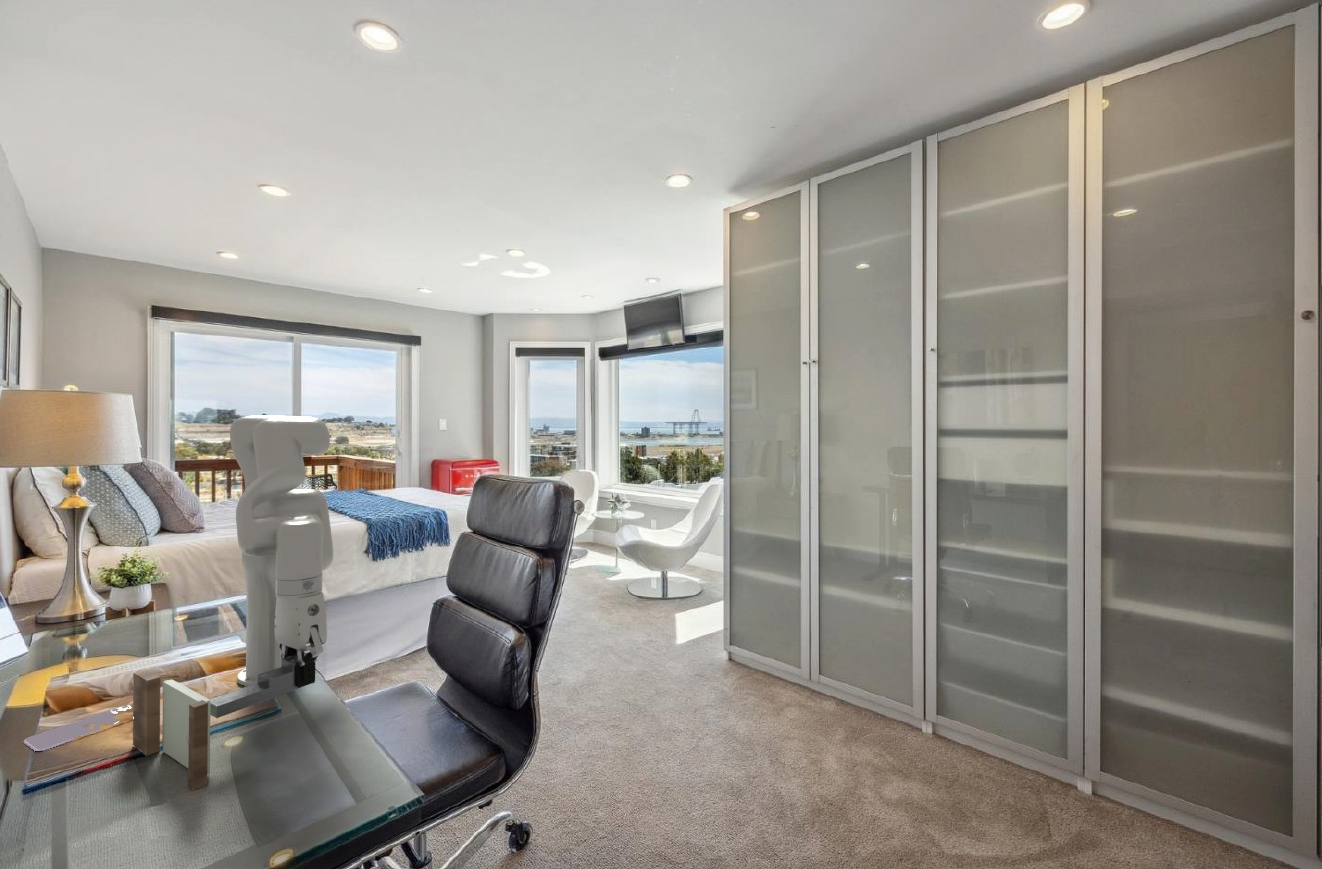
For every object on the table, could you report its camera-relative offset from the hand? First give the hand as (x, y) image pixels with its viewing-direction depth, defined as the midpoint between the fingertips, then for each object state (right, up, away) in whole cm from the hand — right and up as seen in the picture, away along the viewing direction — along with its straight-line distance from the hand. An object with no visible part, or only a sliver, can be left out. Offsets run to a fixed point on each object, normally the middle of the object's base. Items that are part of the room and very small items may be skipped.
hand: (298, 680), depth 109 cm
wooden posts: (-14, -8, -13) cm, 21 cm away
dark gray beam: (-3, -1, -5) cm, 6 cm away
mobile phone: (-38, -8, -2) cm, 39 cm away
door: (-12, -8, -13) cm, 19 cm away
